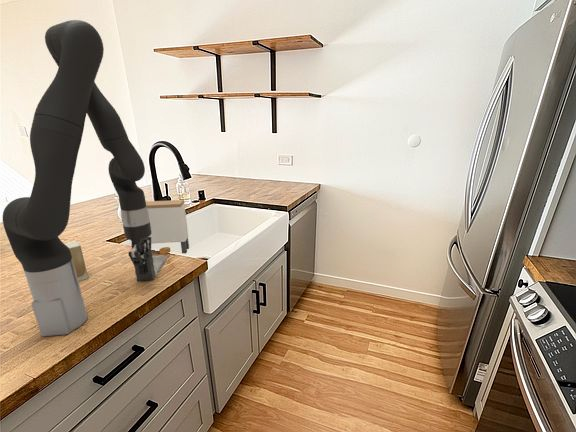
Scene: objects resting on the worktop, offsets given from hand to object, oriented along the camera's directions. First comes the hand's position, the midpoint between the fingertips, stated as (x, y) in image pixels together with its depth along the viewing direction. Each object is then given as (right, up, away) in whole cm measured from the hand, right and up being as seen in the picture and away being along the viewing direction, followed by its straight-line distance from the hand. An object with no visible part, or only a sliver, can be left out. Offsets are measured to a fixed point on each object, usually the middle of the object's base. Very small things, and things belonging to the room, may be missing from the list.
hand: (145, 271), depth 96 cm
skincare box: (-23, -3, +2) cm, 24 cm away
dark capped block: (-1, 0, +7) cm, 7 cm away
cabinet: (-2, +4, +21) cm, 22 cm away
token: (-2, +4, +21) cm, 22 cm away
